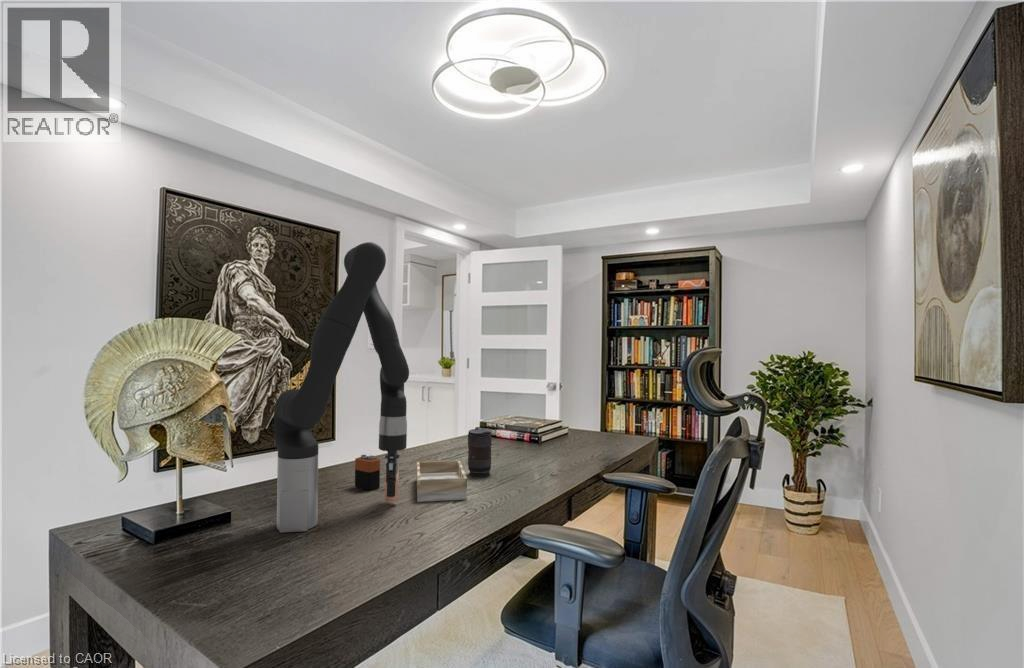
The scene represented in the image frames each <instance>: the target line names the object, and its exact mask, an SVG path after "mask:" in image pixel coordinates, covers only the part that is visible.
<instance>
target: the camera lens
mask: <svg viewBox="0 0 1024 668" xmlns="http://www.w3.org/2000/svg"><path fill="white" fill-rule="evenodd" d="M492 436H493V435H492V430H490V429H488V428H474V429H473V428H471V429H469V430H468V433H467V447H468V448H467V449H468V452H467V453H468V454H467V455H468V456H467V468H468V471H469V476H471V477H476V478H483V477H484V478H485V477H488V476H490V473H491V472H490V471H491V470H492V468H491V467H492V438H493V437H492Z"/></svg>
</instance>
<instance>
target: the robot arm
mask: <svg viewBox="0 0 1024 668" xmlns="http://www.w3.org/2000/svg"><path fill="white" fill-rule="evenodd" d="M386 256H387V255H386V253H385V251H384V249H383V248H382V246H380V244H378V243H376V242H373V241H371V242H362V243H360V244H358V245H356V246H354V247H352V248H351V249H349V250H348V251H347V252H346V254H345V256H344V259H343V267H344V269H345V272H346V274H347V275H346V277H345V281H344V282H343V284H342V285H341V287H340V289H339V290H338V291H337V293H336V294H335V296H334V297H333V298H332V300H330V302H329V303H328V305H327V306H326V307H325V309H324V311H323V313H322V314H321V315H320V318H319V321H318V323H317V325H316V327H315V329H314V332H313V335H312V338H311V344H310V345H311V347H310V363H309V366H308V370H307V372H306V375H305V377H304V379H303V382H302V384H301V385H300V386H299V389H298V388H290V389H287V390H285V391H283V392H282V393H281V394H279V396H278V397H277V399H276V401H275V403H274V404H275V405H274V410H273V430H274V433H273V434H274V443H275V447H276V449H277V471H276V472H277V475H276V476H277V477H276V479H277V480H276V481H277V482H276V483H277V485H276V529H277V530H278V531H279V533H281V534H282V533H294V532H296V533H297V532H307V531H309V530H310V529H312V528H314V527H316V526H317V525H318V516H319V515H318V507H319V506H318V501H319V499H318V498H319V497H318V496H319V495H318V493H319V492H318V491H319V443H318V441H317V440H316V439H315V437H314V435H313V432H312V428H313V427H315V426H317V424H319V422H320V421H321V420H322V419H323V416H324V415H325V412H326V409H327V406H328V403H329V400H330V397H331V394H332V391H333V386H334V383H335V381H336V378H337V375H338V373H339V371H340V368H341V366H342V363H343V361H344V359H345V356H346V353H347V351H348V349H349V347H350V345H351V343H352V341H353V338H354V335H355V333H356V332H357V328H358V325H359V323H360V321H361V318H362V316H363V315H364V317H365V320H366V323H367V327H368V330H369V335H370V338H371V341H372V345H373V348H374V350H375V352H376V354H377V355H378V358H379V361H380V365H381V368H380V370H379V385H380V388H379V389H380V400H381V401H380V414H379V415H380V417H379V423H378V425H379V426H378V449H379V450H380V451H383V452H387V454H385V456H384V464H385V466H384V467H385V469H384V475H385V474H386V483H387V497H394V496H395V483H396V474H397V473H398V466H399V467H400V460H401V457H400V456H401V455H400V454H399V453H398V452H401V451H404V450H406V449H407V443H408V442H407V440H408V438H407V437H408V435H407V434H408V421H407V397H406V394H405V383H407V381H408V380H409V378H410V368H409V364H408V362H407V358H406V356H405V354H404V350H403V349H402V348H401V344H400V340H399V339H400V338H399V335H398V331H397V328H396V324H395V321H394V319H393V316H392V315H391V313H390V311H389V309H388V307H387V306H386V304H385V302H384V301H383V299H382V297H381V294H380V293H379V290H378V289H379V288H378V286H377V282H378V280H379V278H380V277H381V276H382V273H383V272H384V269H385V268H386V263H387V257H386ZM389 475H393V476H394V478H389Z"/></svg>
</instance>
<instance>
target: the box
mask: <svg viewBox="0 0 1024 668" xmlns="http://www.w3.org/2000/svg"><path fill="white" fill-rule="evenodd" d="M467 492H468V477H467V476H466V472H465V470H464V466H463V464H462V461H461V460H441V461H440V460H436V461H435V460H434V461H433V460H432V461H416V497H417V498H416V500H417V501H416V502H417V503H420V502H423V503H424V502H440V501H457V500H459V501H460V500H467V499H468V495H467V494H468V493H467Z"/></svg>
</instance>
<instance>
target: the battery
mask: <svg viewBox="0 0 1024 668" xmlns="http://www.w3.org/2000/svg"><path fill="white" fill-rule="evenodd" d="M380 472H381V459H380V458H378V457H376V456H375V455H368V456H367V454H361V455H360V457H357V458H355V459H354V487H355V488H356V489H360V490H364V491H368V492H370V491H373V490H376V489H380V487H381V485H380V483H381V476H380V475H381V473H380Z"/></svg>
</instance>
